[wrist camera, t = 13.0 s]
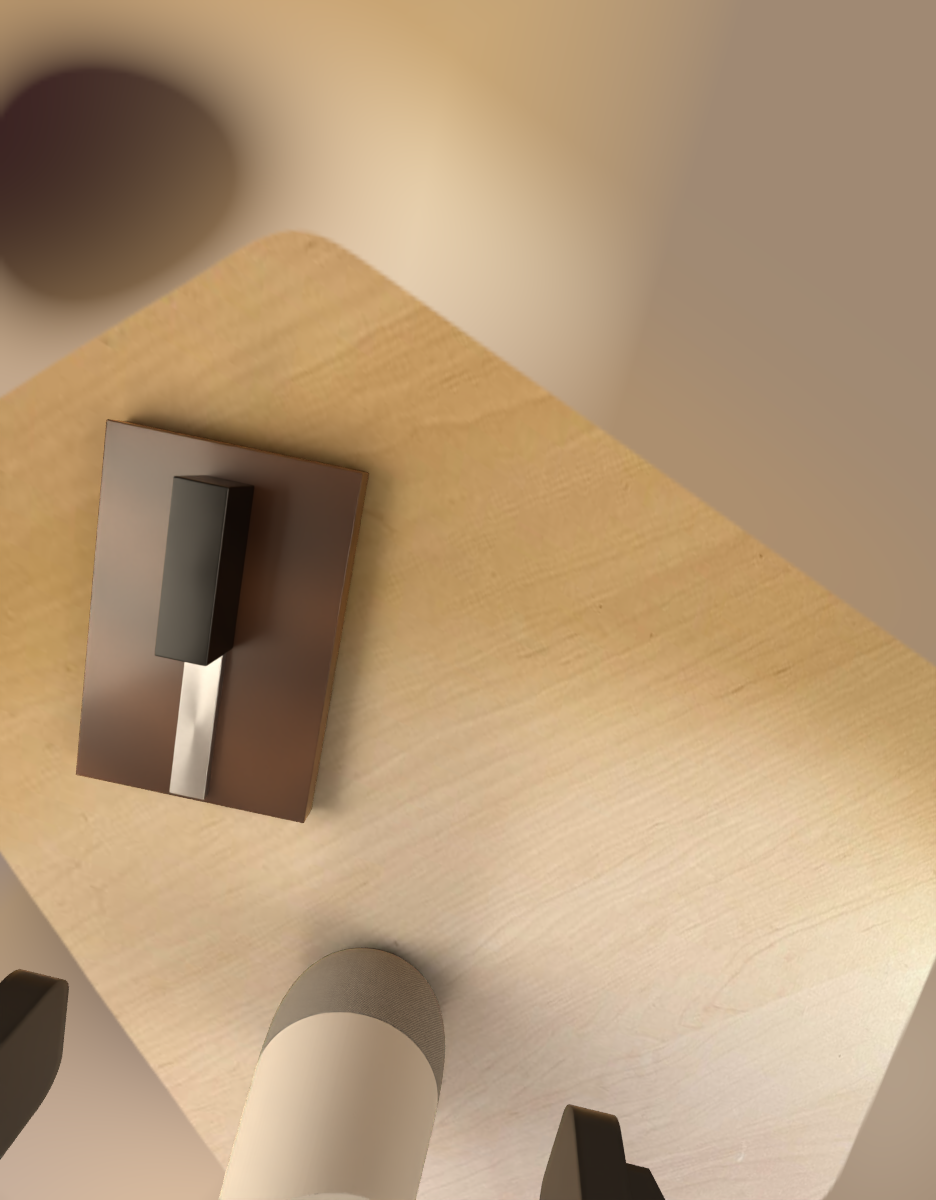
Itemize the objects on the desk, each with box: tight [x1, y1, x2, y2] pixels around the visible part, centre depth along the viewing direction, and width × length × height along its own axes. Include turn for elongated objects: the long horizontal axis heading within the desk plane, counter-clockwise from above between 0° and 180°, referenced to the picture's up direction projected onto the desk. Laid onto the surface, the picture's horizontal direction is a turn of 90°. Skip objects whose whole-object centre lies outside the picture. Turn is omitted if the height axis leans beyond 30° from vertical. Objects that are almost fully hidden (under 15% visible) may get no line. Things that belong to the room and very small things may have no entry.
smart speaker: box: [219, 948, 445, 1200], centre depth 30 cm, size 10×9×14 cm
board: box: [76, 419, 369, 823], centre depth 32 cm, size 18×12×2 cm, turn 168°
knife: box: [154, 475, 255, 800], centre depth 30 cm, size 16×2×3 cm, turn 168°
